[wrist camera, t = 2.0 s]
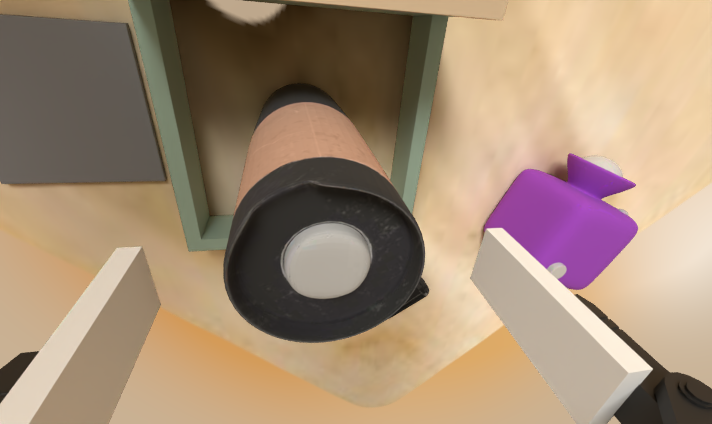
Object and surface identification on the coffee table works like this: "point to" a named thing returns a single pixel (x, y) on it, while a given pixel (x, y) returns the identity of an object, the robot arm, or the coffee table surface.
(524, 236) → the toy camera
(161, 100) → the frame
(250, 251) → the travel mug
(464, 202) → the coffee table surface
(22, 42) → the rubber mat
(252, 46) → the coffee table surface
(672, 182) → the coffee table surface
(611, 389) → the robot arm
